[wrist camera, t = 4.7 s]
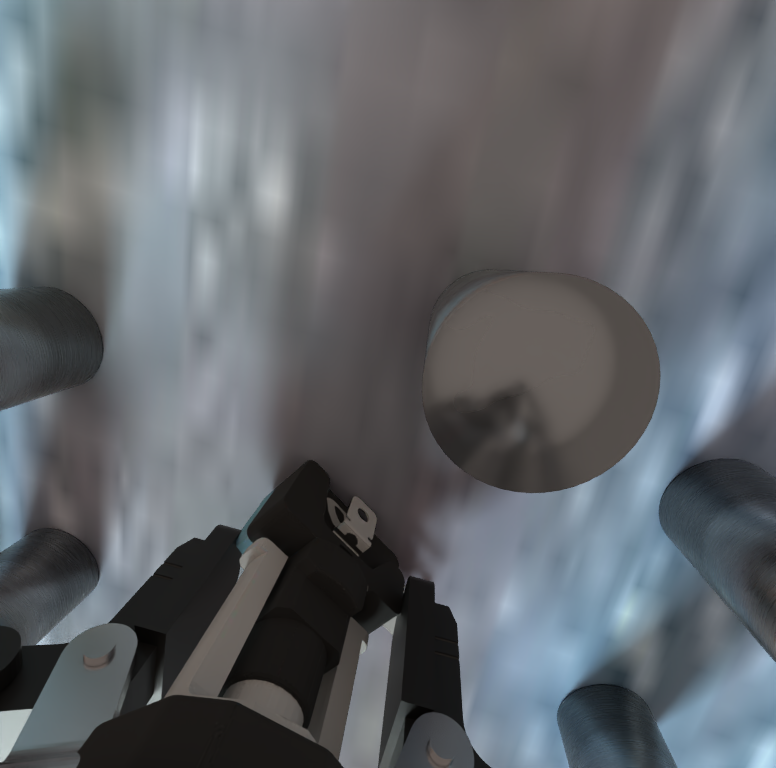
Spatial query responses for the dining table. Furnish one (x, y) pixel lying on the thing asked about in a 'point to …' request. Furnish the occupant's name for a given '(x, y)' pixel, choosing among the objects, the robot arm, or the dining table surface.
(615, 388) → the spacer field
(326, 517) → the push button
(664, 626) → the dining table surface
